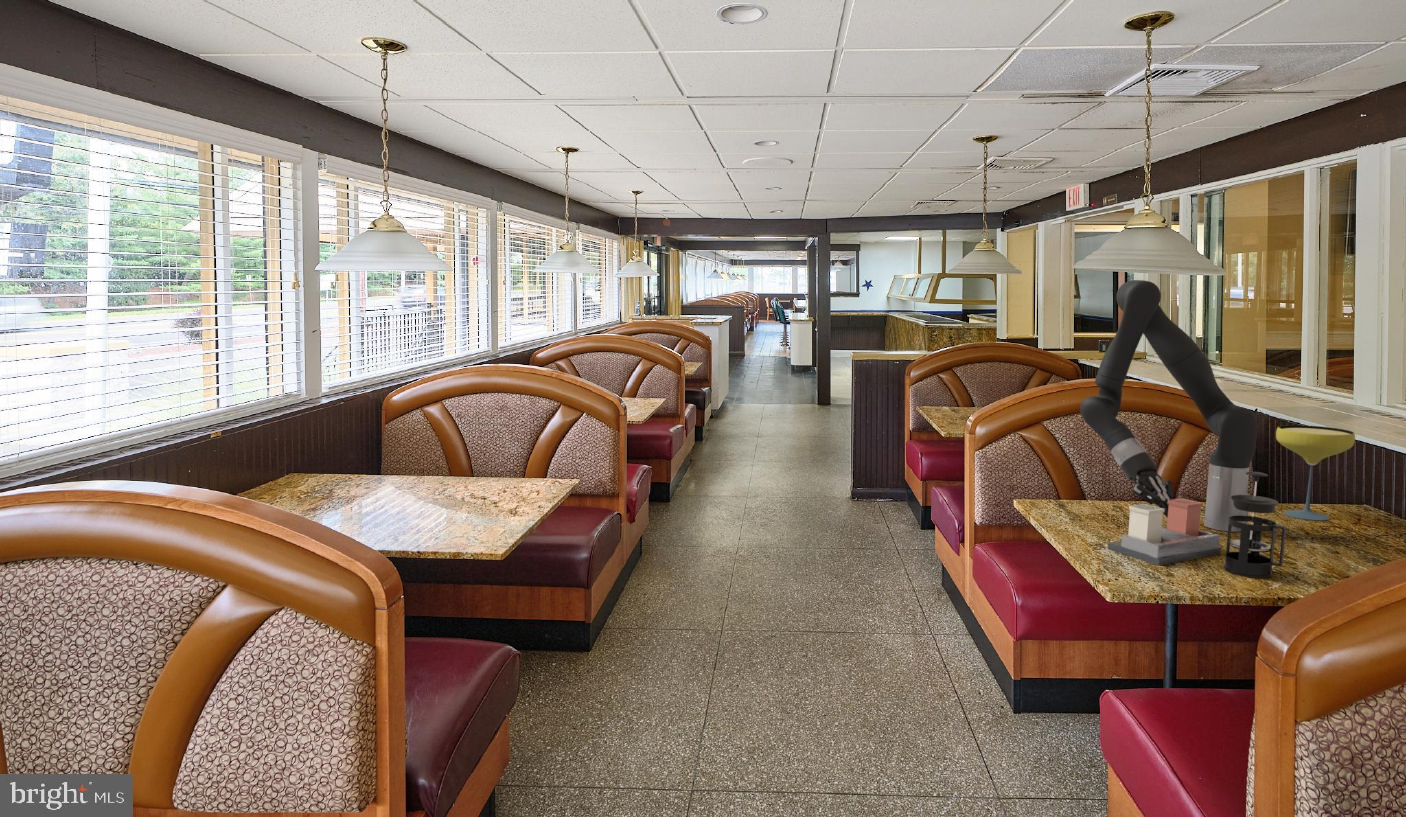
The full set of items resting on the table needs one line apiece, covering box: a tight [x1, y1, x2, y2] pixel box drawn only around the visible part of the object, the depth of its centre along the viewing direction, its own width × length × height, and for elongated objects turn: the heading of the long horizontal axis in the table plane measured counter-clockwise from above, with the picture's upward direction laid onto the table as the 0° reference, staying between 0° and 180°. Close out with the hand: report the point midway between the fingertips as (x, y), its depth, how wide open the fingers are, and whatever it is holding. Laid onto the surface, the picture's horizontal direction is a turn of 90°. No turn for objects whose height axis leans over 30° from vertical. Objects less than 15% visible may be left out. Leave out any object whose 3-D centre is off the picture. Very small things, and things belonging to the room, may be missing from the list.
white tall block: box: [1127, 503, 1165, 544], centre depth 204 cm, size 5×5×10 cm
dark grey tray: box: [1107, 527, 1222, 566], centre depth 207 cm, size 14×22×4 cm, turn 115°
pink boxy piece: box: [1166, 497, 1203, 537], centre depth 210 cm, size 5×5×10 cm
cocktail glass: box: [1275, 424, 1356, 522], centre depth 240 cm, size 18×18×25 cm
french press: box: [1223, 471, 1287, 579], centre depth 190 cm, size 12×9×23 cm
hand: (1172, 515), depth 213 cm, fingers closed
